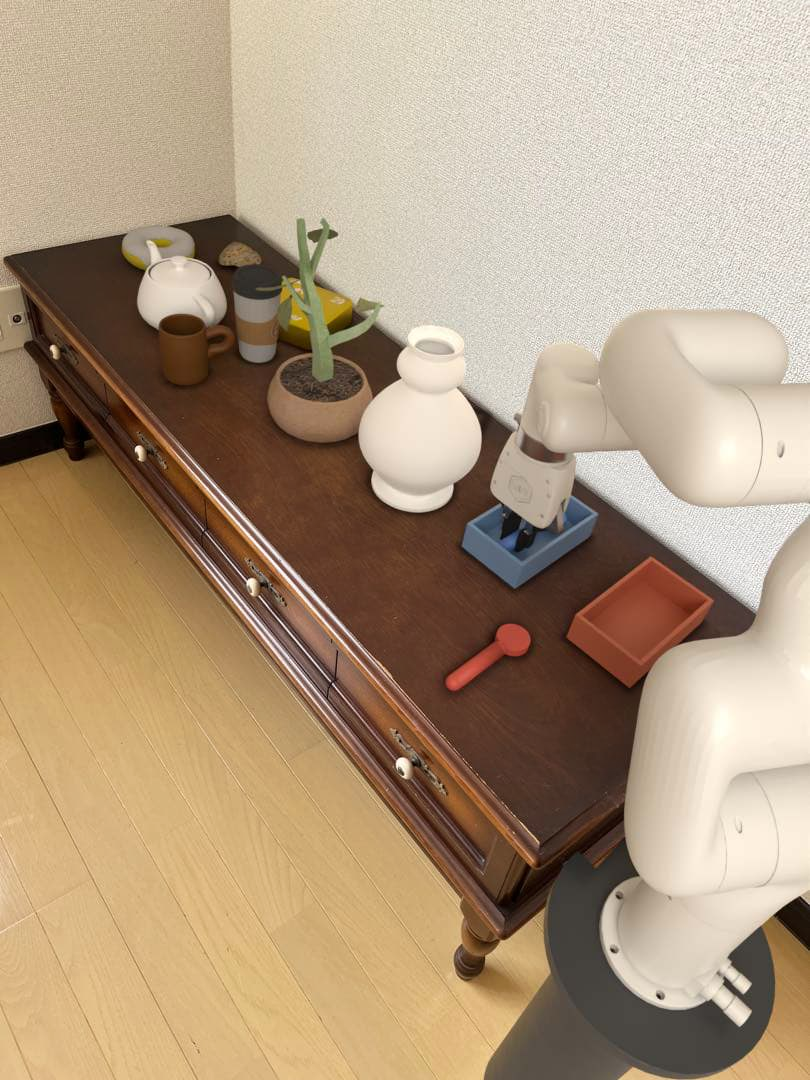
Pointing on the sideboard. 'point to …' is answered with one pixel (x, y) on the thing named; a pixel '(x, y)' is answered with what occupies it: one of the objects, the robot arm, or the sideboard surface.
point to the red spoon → (491, 654)
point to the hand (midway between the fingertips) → (515, 541)
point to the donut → (165, 240)
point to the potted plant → (318, 361)
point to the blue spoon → (512, 538)
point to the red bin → (638, 620)
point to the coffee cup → (256, 311)
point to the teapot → (180, 290)
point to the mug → (189, 347)
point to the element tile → (333, 310)
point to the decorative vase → (422, 425)
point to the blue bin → (530, 561)
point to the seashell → (239, 255)
